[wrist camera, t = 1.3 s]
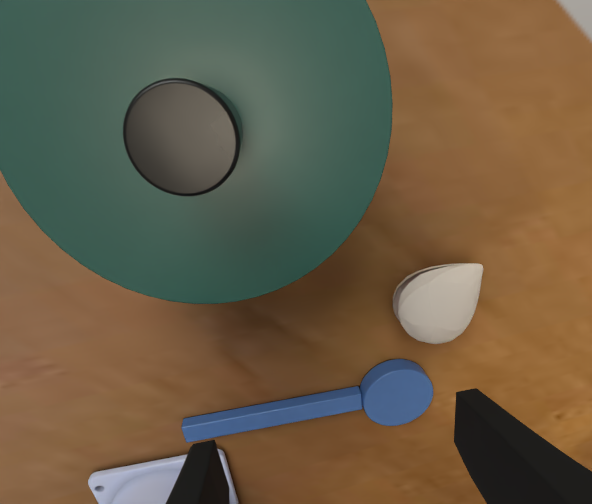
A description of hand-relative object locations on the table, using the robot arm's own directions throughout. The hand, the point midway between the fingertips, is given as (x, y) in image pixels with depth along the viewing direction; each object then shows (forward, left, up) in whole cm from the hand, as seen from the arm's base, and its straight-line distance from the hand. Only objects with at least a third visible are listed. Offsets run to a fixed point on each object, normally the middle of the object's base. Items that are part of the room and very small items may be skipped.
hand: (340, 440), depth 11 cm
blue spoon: (-7, +1, -9) cm, 12 cm away
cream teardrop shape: (-1, -7, -9) cm, 12 cm away
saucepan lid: (+9, +2, -3) cm, 10 cm away
